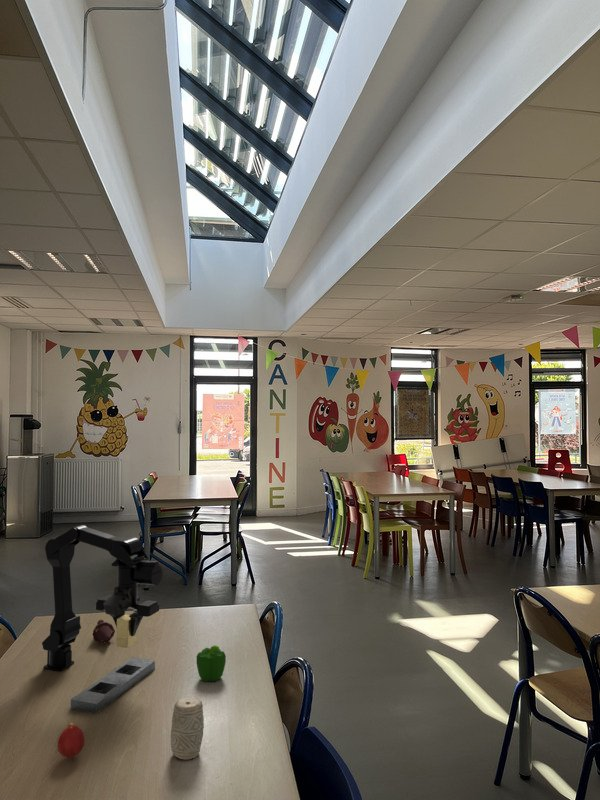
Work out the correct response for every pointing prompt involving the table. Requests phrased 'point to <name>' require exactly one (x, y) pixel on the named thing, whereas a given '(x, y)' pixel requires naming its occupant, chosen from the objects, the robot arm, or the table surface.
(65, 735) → the onion
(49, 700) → the table surface
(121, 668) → the rail
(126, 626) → the brass peg
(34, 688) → the table surface
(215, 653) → the bell pepper
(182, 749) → the carving
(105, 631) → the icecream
